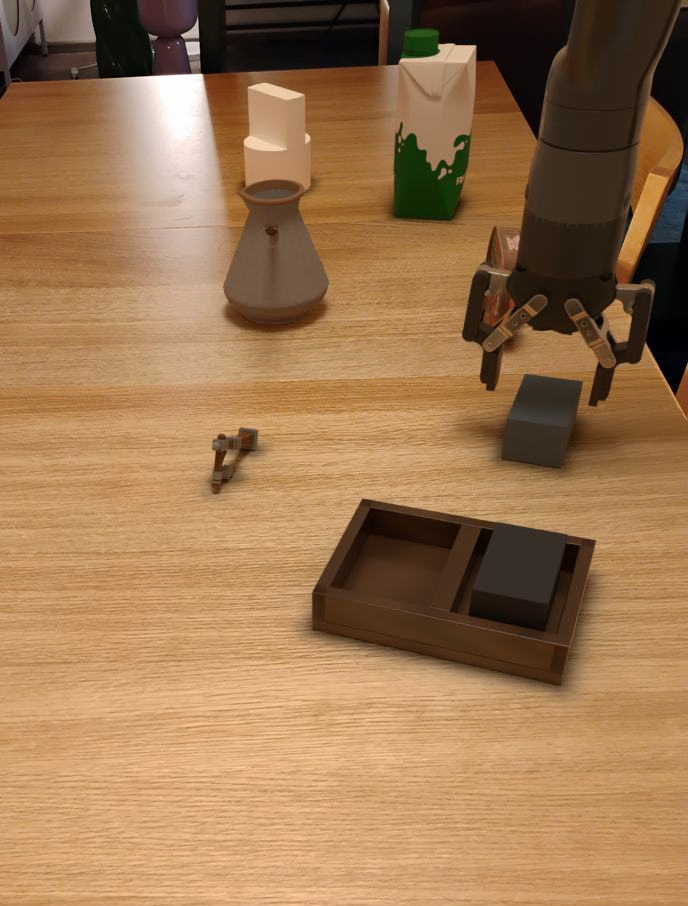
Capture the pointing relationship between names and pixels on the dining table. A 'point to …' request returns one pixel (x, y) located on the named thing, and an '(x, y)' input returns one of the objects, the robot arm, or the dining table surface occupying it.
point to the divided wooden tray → (439, 592)
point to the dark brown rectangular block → (518, 576)
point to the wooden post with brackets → (223, 443)
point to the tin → (504, 258)
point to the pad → (541, 420)
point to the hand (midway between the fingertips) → (541, 394)
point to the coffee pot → (275, 257)
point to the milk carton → (432, 125)
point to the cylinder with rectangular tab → (276, 136)
